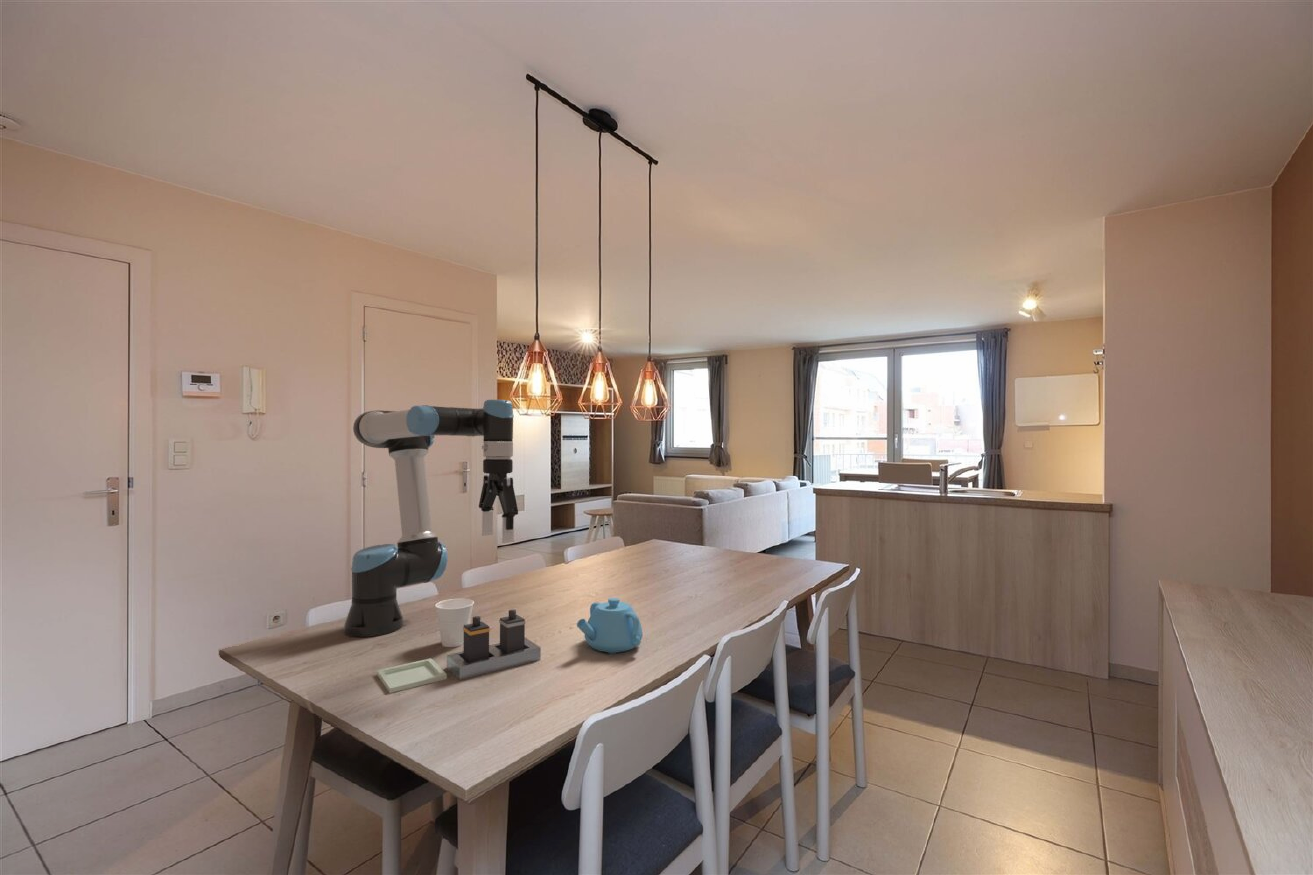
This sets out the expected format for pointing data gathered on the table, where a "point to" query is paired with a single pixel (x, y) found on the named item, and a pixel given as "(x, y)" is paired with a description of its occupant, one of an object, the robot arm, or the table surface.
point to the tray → (411, 675)
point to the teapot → (612, 627)
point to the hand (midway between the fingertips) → (497, 538)
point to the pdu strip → (492, 660)
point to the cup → (453, 620)
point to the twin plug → (512, 633)
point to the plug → (476, 640)
